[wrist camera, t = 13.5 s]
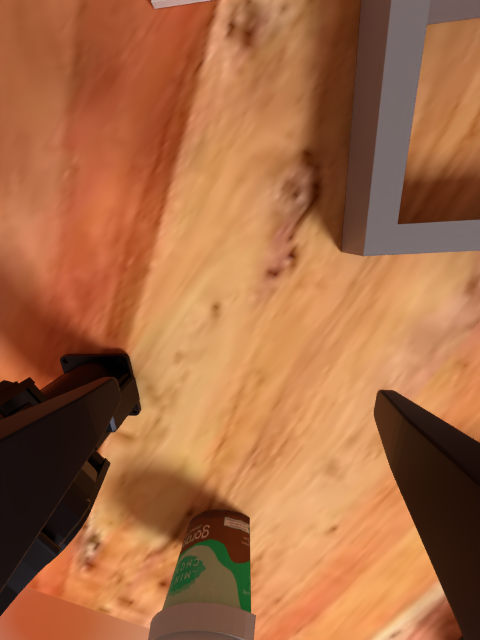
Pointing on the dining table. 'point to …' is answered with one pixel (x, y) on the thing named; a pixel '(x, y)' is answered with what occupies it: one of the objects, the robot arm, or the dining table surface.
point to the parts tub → (393, 130)
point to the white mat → (172, 2)
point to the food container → (210, 583)
